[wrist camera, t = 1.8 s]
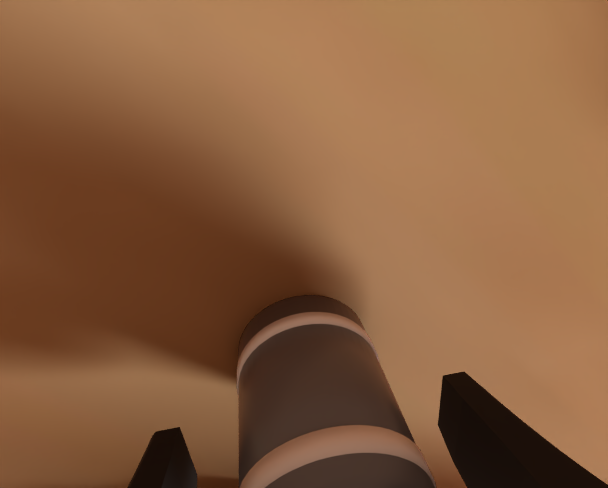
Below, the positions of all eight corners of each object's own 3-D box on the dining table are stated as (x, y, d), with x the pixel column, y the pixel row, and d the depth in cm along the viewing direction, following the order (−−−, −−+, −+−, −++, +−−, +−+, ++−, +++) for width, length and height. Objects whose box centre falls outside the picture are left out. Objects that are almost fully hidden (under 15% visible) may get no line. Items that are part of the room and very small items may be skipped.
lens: (365, 283, 13) (456, 455, 7) (367, 383, 15) (440, 572, 9) (225, 307, 12) (216, 505, 7) (248, 406, 14) (255, 616, 9)
